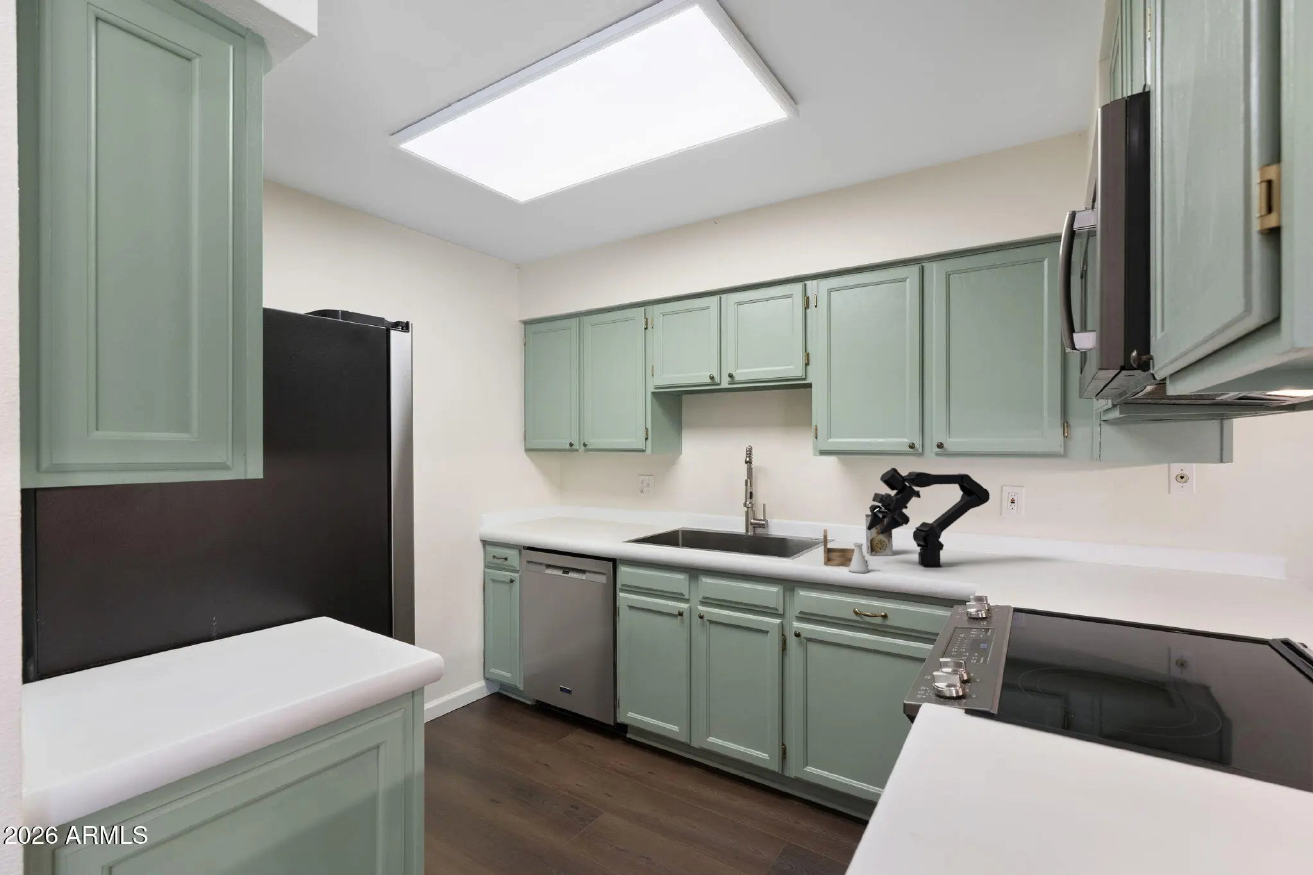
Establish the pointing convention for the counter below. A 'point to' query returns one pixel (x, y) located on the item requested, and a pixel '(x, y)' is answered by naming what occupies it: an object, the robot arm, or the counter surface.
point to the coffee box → (878, 540)
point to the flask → (858, 560)
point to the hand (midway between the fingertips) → (874, 531)
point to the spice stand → (837, 554)
